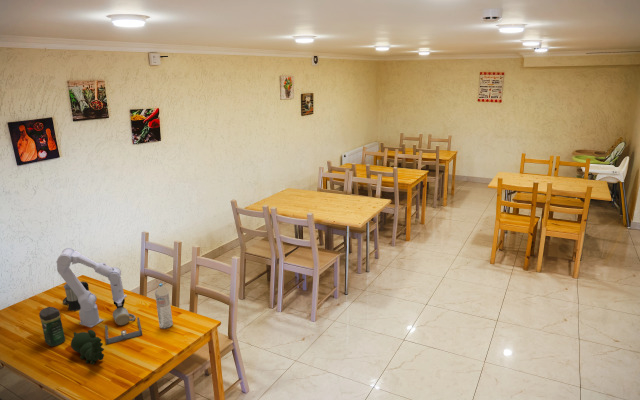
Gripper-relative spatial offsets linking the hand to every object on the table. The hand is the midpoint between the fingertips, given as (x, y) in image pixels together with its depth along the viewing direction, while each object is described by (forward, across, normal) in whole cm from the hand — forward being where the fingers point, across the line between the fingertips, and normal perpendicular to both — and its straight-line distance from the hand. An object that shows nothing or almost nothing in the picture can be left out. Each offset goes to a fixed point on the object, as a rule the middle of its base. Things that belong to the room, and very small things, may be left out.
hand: (121, 311), depth 243 cm
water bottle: (+4, -20, -21) cm, 29 cm away
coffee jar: (+4, -8, +32) cm, 33 cm away
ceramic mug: (+4, -5, -1) cm, 6 cm away
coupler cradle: (+4, -16, 0) cm, 17 cm away
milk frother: (+4, +30, +24) cm, 39 cm away
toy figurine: (+4, -31, +17) cm, 35 cm away
